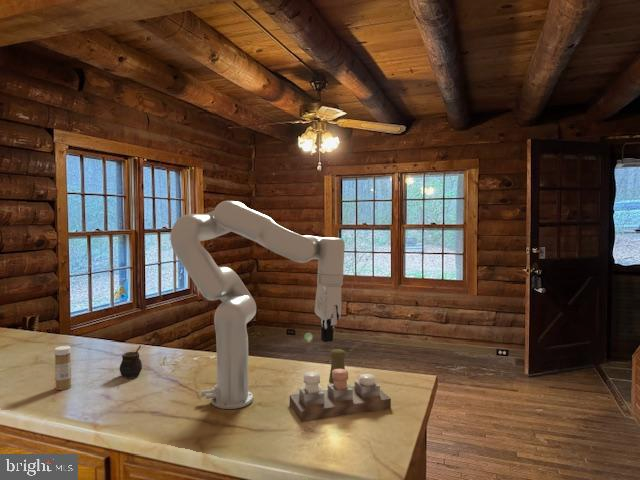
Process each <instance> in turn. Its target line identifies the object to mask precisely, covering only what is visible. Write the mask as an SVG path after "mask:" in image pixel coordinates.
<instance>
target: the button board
mask: <svg viewBox="0 0 640 480" xmlns="http://www.w3.org/2000/svg"><path fill="white" fill-rule="evenodd" d="M298 389H299V391H298V393H293V394H289V406H290V407H291V409H292V411H293V412H294V414H295V416H296V417H297V418H298V420H299V421H300V423H305V422H313V421H319V420H326V419H331V418H336V417H337V418H338V417H339V418H340V417H344V416H350V415H357V414H364V413H369V412H376V411H384V410H389V409H391V408H392V407H391V406H392V404H391V403H392V402H391V401H392V399H391V397H390V396H388V395H387V394H386V393H385V392H383V391H382V390H381V386H380V384H378V383H377V382H376V381H375V385H373V386H363V385H361V384H360V383H359V380H355V381H354V386H350V385H349V384H348V383H347V389H341V390H337V389H336V388H335V387H334V384H332V383H329V384H327V389H324V390H322V389H321V388H320V386H318V393H311V394H308V393H307V392H306V390H305V387H299V388H298Z"/></svg>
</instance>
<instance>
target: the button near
mask: <svg viewBox="0 0 640 480" xmlns="http://www.w3.org/2000/svg"><path fill="white" fill-rule="evenodd" d="M320 382H321V374H320V373H319V372H315V371H310V372H309V371H307V372H305V373H303V383H304V386H305V390H306V392H307V393H308V394H311V393H318V387H319V384H320Z"/></svg>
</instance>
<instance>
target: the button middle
mask: <svg viewBox="0 0 640 480" xmlns="http://www.w3.org/2000/svg"><path fill="white" fill-rule="evenodd" d="M332 379H333V380H334V387H335V388H336V389H337V390H341V389H347V384H348V380H349V371H348V370H347V369H346V368H345V369H334V370H333V371H332Z"/></svg>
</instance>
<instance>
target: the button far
mask: <svg viewBox="0 0 640 480" xmlns="http://www.w3.org/2000/svg"><path fill="white" fill-rule="evenodd" d="M358 381H359V383H360V384H361V385H363V386H373V385H375V382H376V376H375V375H374V374H370V373H361V374H360V375H359V379H358Z"/></svg>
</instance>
